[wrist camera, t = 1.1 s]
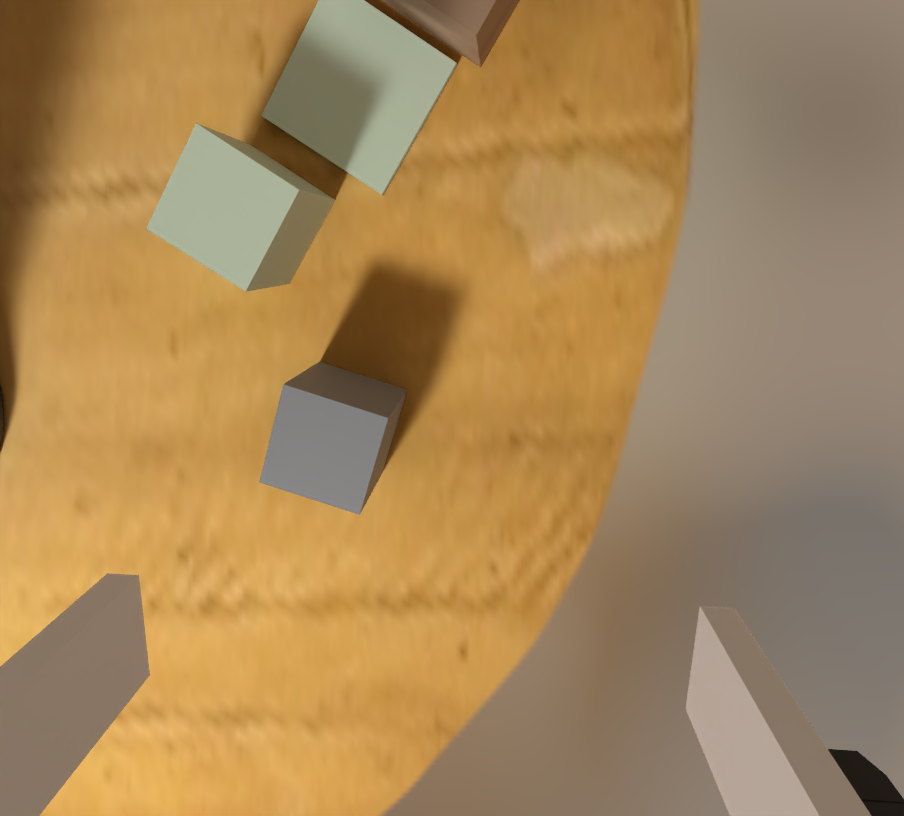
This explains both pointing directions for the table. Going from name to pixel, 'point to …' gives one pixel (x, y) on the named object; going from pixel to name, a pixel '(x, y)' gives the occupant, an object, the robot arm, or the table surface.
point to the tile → (358, 89)
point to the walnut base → (460, 22)
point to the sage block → (239, 211)
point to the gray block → (332, 436)
